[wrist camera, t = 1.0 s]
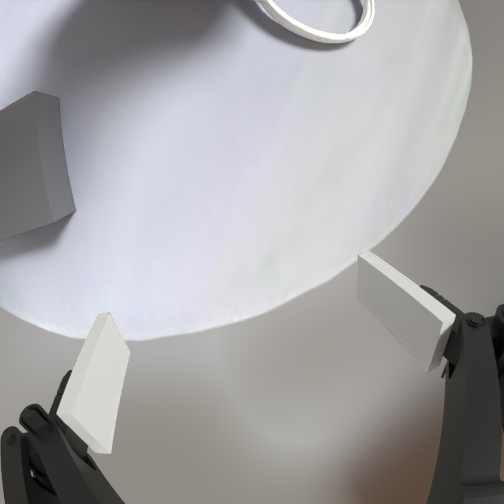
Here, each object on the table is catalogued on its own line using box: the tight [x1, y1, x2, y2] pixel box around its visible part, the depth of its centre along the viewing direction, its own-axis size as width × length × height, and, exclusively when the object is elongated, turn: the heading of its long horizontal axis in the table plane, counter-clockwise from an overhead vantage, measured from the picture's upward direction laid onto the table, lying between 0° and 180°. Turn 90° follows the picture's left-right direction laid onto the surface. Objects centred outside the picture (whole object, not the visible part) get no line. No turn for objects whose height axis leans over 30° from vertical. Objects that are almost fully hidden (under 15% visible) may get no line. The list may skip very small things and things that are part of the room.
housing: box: [0, 91, 76, 241], centre depth 26 cm, size 14×17×7 cm
